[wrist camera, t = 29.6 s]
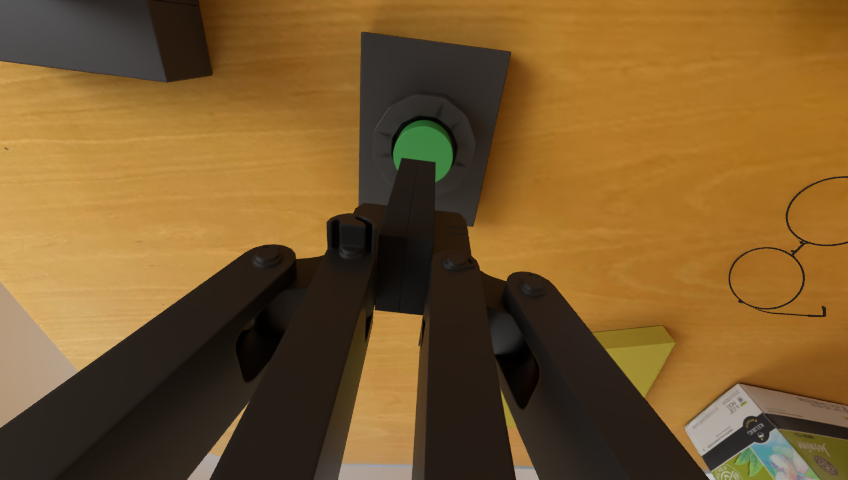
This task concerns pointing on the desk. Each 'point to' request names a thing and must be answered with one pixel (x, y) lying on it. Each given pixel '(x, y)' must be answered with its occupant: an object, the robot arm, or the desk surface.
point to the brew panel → (428, 112)
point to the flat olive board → (631, 356)
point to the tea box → (772, 436)
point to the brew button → (425, 146)
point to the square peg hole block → (107, 37)
